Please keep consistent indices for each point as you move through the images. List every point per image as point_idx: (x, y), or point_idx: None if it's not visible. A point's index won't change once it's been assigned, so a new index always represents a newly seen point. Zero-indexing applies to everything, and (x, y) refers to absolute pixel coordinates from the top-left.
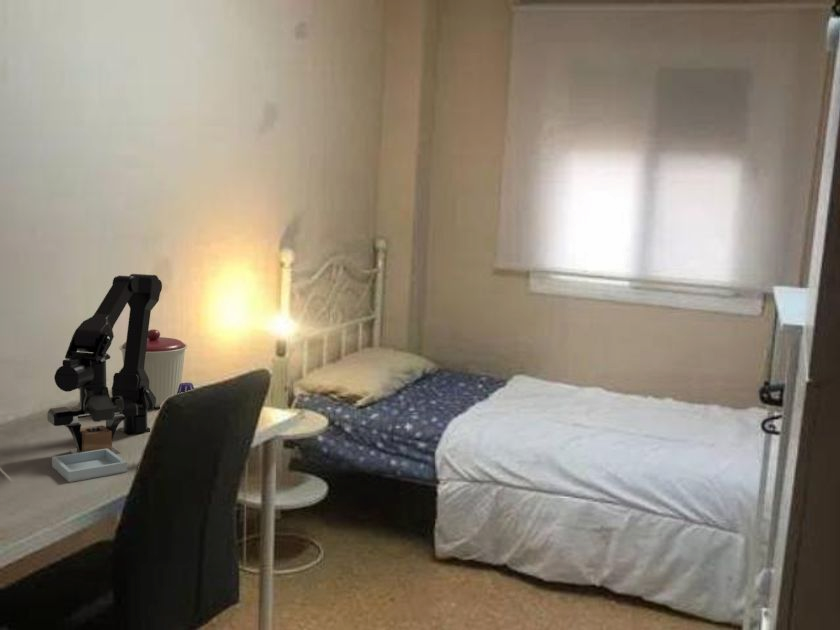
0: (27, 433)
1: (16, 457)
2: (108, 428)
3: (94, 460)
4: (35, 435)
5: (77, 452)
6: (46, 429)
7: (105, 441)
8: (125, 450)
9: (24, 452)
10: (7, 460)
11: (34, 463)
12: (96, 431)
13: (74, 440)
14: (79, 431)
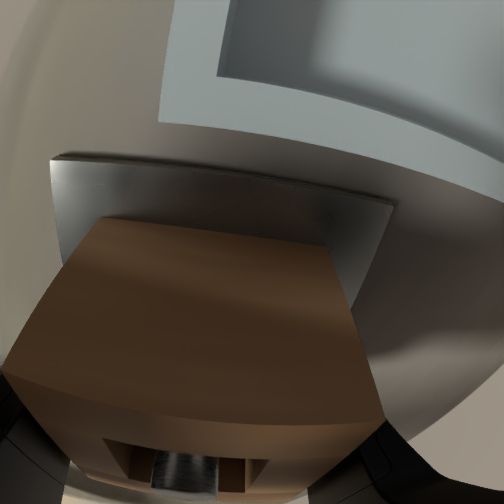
0: None
1: (459, 391)
2: (48, 436)
3: (348, 78)
4: None
5: None
6: None
7: (116, 295)
8: (18, 236)
9: (407, 420)
10: (490, 376)
11: (501, 314)
12: (167, 454)
13: None
14: (379, 476)
